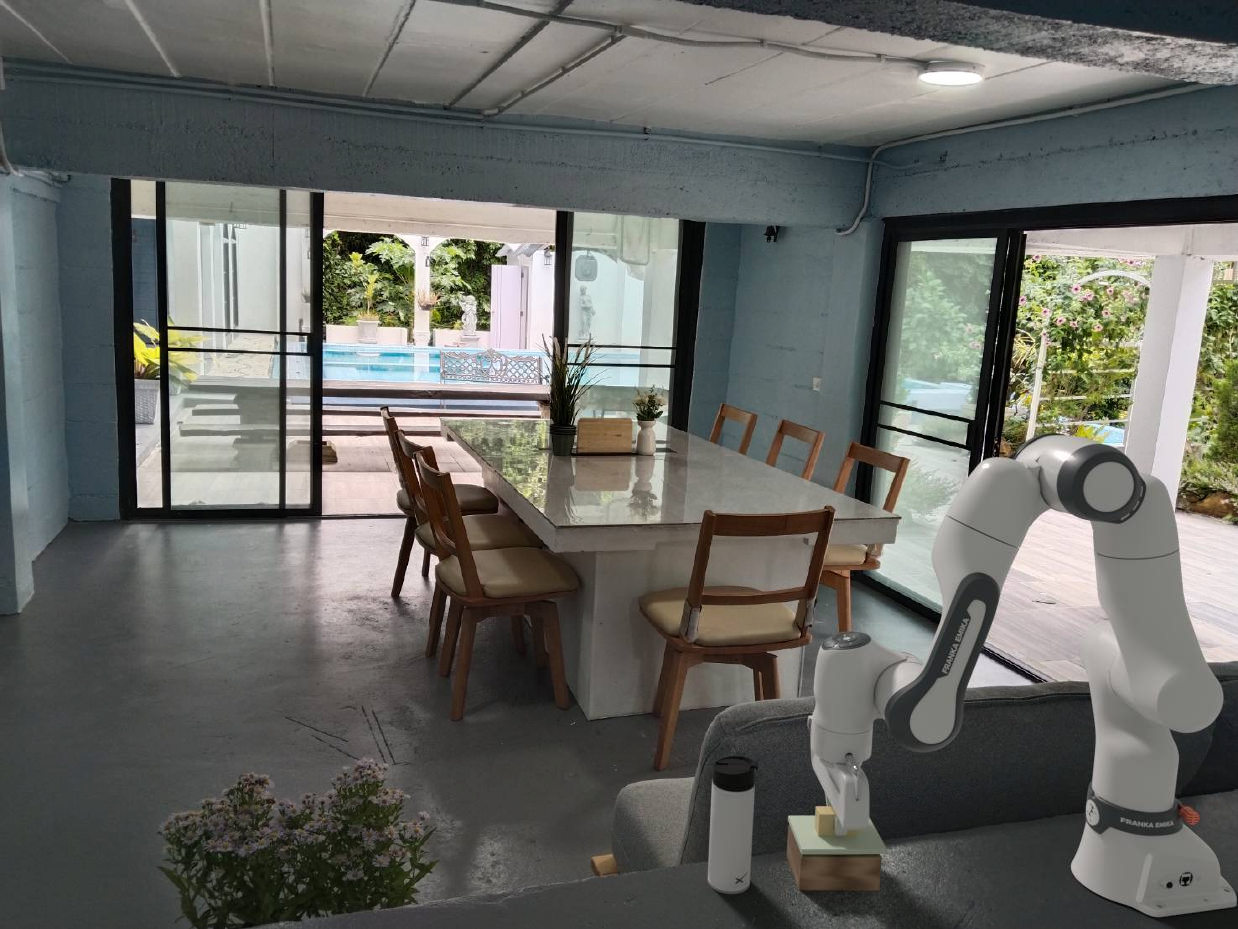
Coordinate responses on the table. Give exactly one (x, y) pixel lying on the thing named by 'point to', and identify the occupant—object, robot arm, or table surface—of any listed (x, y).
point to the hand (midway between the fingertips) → (836, 826)
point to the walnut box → (833, 869)
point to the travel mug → (731, 824)
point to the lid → (833, 835)
